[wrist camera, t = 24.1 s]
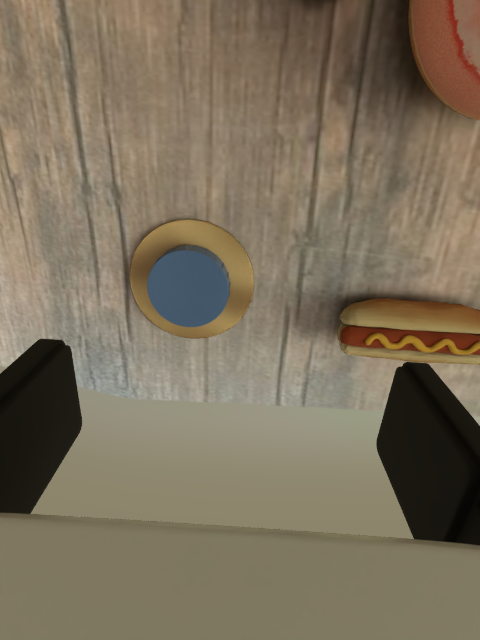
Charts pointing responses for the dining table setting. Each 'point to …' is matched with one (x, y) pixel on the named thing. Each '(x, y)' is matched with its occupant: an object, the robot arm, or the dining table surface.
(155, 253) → the coaster
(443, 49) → the vase
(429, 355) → the food
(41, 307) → the dining table surface
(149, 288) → the lid
